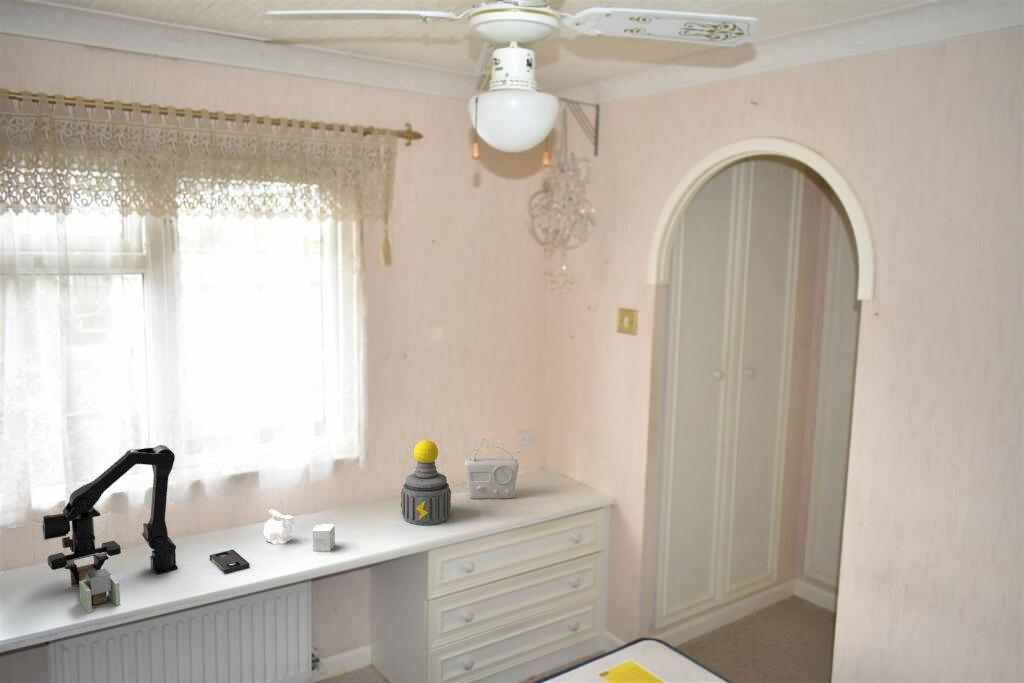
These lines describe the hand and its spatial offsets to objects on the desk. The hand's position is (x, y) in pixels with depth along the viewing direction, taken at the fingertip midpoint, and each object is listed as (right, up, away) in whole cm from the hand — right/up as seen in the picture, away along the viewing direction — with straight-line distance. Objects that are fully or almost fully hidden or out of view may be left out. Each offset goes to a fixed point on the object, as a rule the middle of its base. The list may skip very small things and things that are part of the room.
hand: (86, 581), depth 238 cm
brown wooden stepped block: (+4, -2, -5) cm, 7 cm away
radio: (+120, +8, +86) cm, 148 cm away
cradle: (+9, -3, -10) cm, 13 cm away
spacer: (+9, +1, -11) cm, 14 cm away
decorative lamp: (+96, +5, +62) cm, 114 cm away
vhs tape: (+37, 0, +18) cm, 41 cm away
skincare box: (+64, +2, +32) cm, 72 cm away
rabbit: (+47, +3, +37) cm, 60 cm away
